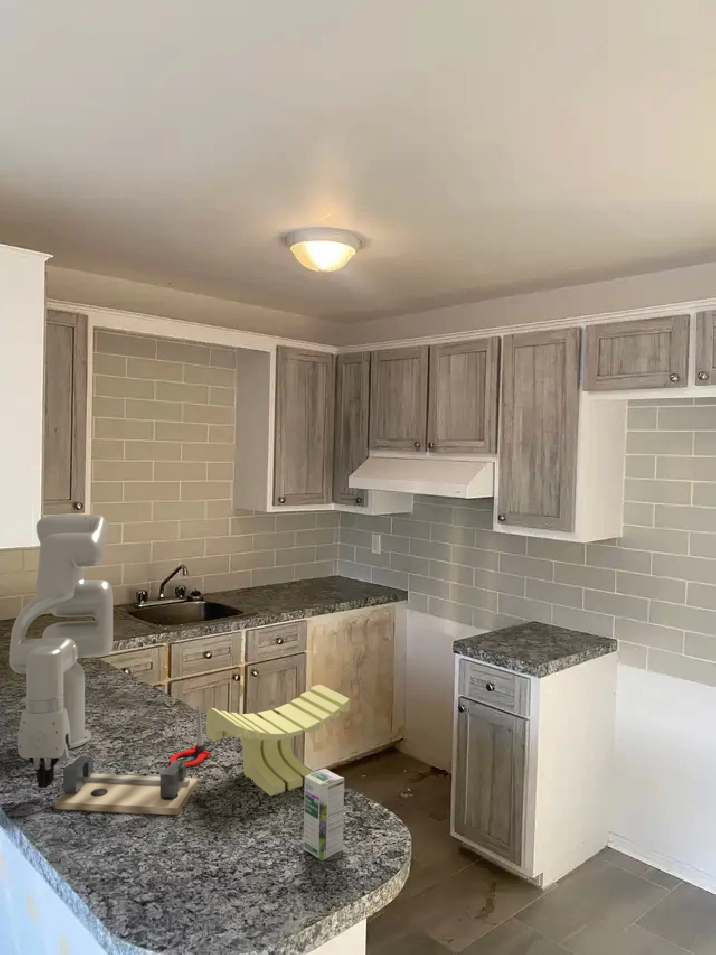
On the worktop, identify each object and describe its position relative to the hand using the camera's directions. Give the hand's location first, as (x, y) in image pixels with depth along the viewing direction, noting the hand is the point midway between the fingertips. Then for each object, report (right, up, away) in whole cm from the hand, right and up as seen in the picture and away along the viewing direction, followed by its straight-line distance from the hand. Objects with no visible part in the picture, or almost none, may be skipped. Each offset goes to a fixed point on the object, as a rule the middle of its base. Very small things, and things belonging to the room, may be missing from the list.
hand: (45, 784), depth 159 cm
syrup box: (+63, -4, -20) cm, 66 cm away
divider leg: (+7, -1, +2) cm, 7 cm away
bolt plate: (+18, -3, +1) cm, 19 cm away
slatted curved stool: (+51, -3, +12) cm, 52 cm away
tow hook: (+27, -3, +20) cm, 34 cm away
